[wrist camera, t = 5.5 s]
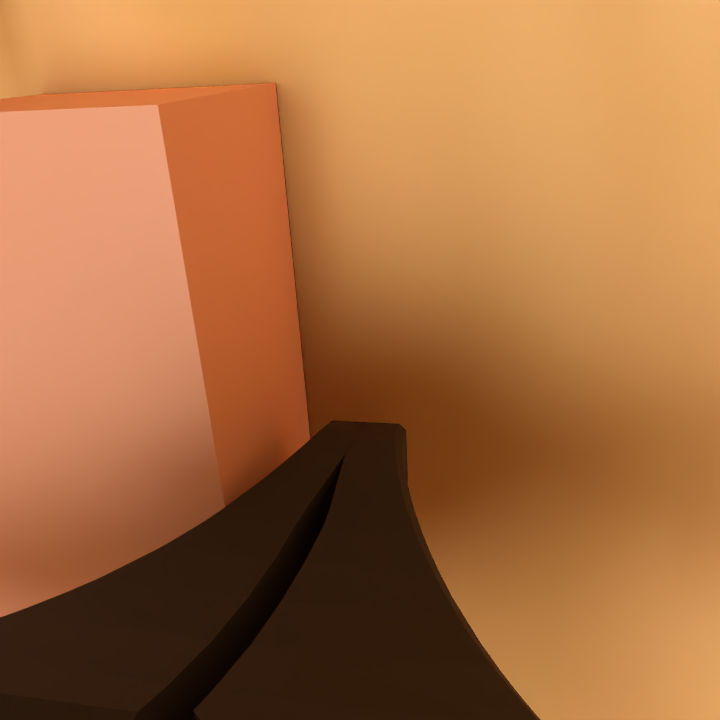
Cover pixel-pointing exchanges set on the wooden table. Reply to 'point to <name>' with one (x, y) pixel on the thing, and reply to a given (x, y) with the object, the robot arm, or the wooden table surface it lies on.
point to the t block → (139, 324)
